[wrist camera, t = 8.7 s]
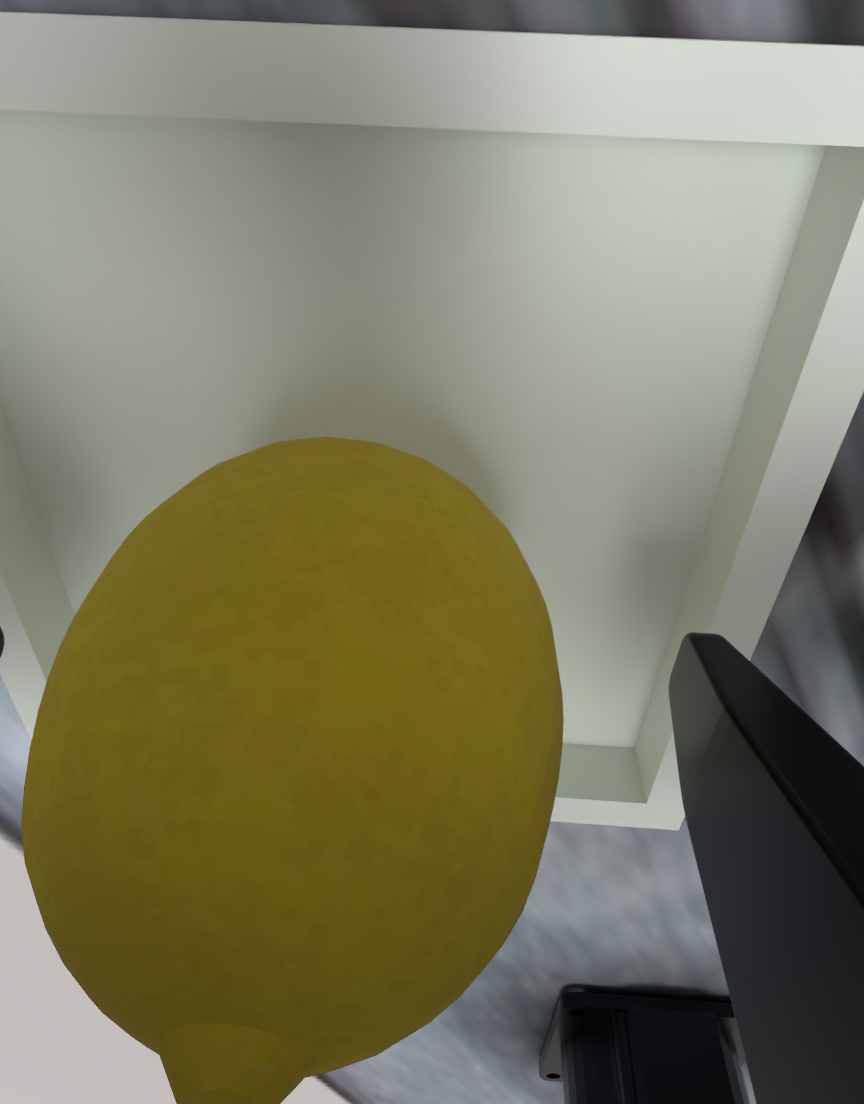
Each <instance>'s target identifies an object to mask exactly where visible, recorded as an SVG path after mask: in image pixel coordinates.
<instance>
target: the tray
mask: <svg viewBox="0 0 864 1104" xmlns="http://www.w3.org/2000/svg"><path fill="white" fill-rule="evenodd" d="M863 392H864V45H839V44H814V43H789V42H763V41H738V40H712V39H687V38H662V37H636V36H611V35H586V34H560V33H535V32H510V31H484V30H459V29H434V28H408V27H383V26H358V25H332V24H307V23H282V22H256V21H231V20H206V19H180V18H155V17H130V16H104V15H79V14H54V13H28V12H3V11H0V626H1V629H2V631H3V634H4V649H3V652H2V655H1V657H0V675H1V678H2V680H3V682H4V684H5V686H6V688H7V690H8V692H9V694H10V696H11V699H12V701H13V703H14V705H15V707H16V709H17V711H18V713H19V715H20V717H21V720H22V722H23V724H24V726H25V728H26V730H27V732H28V734H29V736H30V739H31V741H32V737H33V732H34V727H35V723H36V718H37V713H38V709H39V706H40V703H41V699H42V696H43V693H44V689H45V686H46V682H47V679H48V676H49V674H50V671H51V668H52V666H53V663H54V660H55V658H56V655H57V652H58V650H59V647H60V645H61V643H62V641H63V639H64V636H65V634H66V632H67V630H68V628H69V626H70V624H71V622H72V620H73V618H74V616H75V615H76V613H77V611H78V609H79V608H80V606H81V604H82V603H83V601H84V599H85V598H86V596H87V594H88V593H89V591H90V590H91V588H92V587H93V585H94V584H95V582H96V581H97V579H98V578H99V576H100V575H101V573H102V571H103V570H104V568H105V567H106V565H107V564H108V562H109V561H110V559H111V558H112V556H113V555H114V553H115V552H116V551H117V549H118V548H119V547H120V545H121V544H122V543H123V541H124V540H125V539H126V537H127V536H128V535H129V534H130V533H131V532H132V531H133V529H134V528H135V527H136V526H137V525H138V524H139V523H140V522H141V521H142V520H143V519H144V518H145V517H146V516H147V515H148V514H149V513H151V512H152V511H153V510H154V509H155V508H157V507H158V506H159V505H160V504H161V503H163V502H164V501H165V500H167V499H168V498H169V497H171V496H172V495H173V494H175V493H176V492H177V491H179V490H180V489H181V488H183V487H184V486H185V485H187V484H188V483H189V482H191V481H192V480H193V479H195V478H196V477H197V476H199V475H200V474H201V473H203V472H205V471H206V470H208V469H210V468H211V467H213V466H215V465H216V464H218V463H221V462H224V461H226V460H229V459H232V458H234V457H237V456H240V455H242V454H245V453H248V452H250V451H253V450H256V449H258V448H261V447H263V446H266V445H269V444H272V443H275V442H281V441H290V440H299V439H309V438H318V437H335V438H343V439H351V440H360V441H368V442H376V443H380V444H383V445H386V446H389V447H392V448H394V449H397V450H400V451H403V452H406V453H409V454H411V455H414V456H417V457H420V458H423V459H425V460H427V461H429V462H430V463H432V464H433V465H435V466H437V467H438V468H440V469H441V470H443V471H444V472H446V473H448V474H449V475H451V476H452V477H454V478H455V479H457V480H459V481H460V482H462V483H463V484H465V485H467V486H468V487H469V488H470V489H471V490H472V491H473V492H474V493H475V494H476V496H477V497H478V498H479V499H480V500H481V501H482V502H483V503H484V504H485V505H486V506H487V507H488V508H489V509H490V510H491V512H492V513H493V514H494V515H495V516H496V517H497V518H498V519H499V520H500V521H501V522H502V523H503V524H504V526H505V527H506V528H507V529H508V530H509V531H510V533H511V535H512V537H513V538H514V540H515V542H516V543H517V545H518V547H519V549H520V551H521V553H522V555H523V557H524V559H525V561H526V563H527V564H528V566H529V568H530V570H531V572H532V574H533V576H534V578H535V580H536V582H537V584H538V586H539V588H540V591H541V593H542V596H543V598H544V601H545V603H546V606H547V610H548V613H549V617H550V621H551V625H552V630H553V636H554V643H555V649H556V656H557V662H558V669H559V675H560V682H561V688H562V698H563V718H564V722H563V747H562V756H561V764H560V773H559V780H558V785H557V790H556V796H555V801H554V806H553V811H552V815H551V819H550V821H554V822H568V823H582V824H596V825H610V826H624V827H638V828H652V829H666V830H679V828H680V826H681V824H682V821H683V819H684V816H685V812H684V807H683V802H682V795H681V788H680V781H679V773H678V765H677V757H676V749H675V741H674V733H673V725H672V717H671V709H670V702H669V680H670V675H671V672H672V669H673V666H674V663H675V660H676V657H677V654H678V651H679V648H680V645H681V642H682V640H683V638H684V637H685V635H686V634H688V633H690V632H697V633H713V634H719V635H721V636H723V637H724V638H725V639H726V640H727V641H729V642H730V643H731V644H732V645H733V646H734V647H735V648H736V649H737V650H738V651H739V652H740V653H741V654H743V655H744V656H745V657H746V658H747V659H748V660H749V661H750V660H751V657H752V655H753V653H754V650H755V648H756V646H757V643H758V641H759V638H760V636H761V634H762V631H763V629H764V627H765V624H766V622H767V619H768V617H769V615H770V612H771V610H772V608H773V605H774V603H775V600H776V598H777V596H778V593H779V591H780V589H781V586H782V584H783V581H784V579H785V577H786V574H787V572H788V570H789V567H790V565H791V562H792V560H793V558H794V555H795V553H796V551H797V548H798V546H799V543H800V541H801V539H802V536H803V534H804V532H805V529H806V527H807V524H808V522H809V520H810V517H811V515H812V513H813V510H814V508H815V505H816V503H817V501H818V498H819V496H820V494H821V491H822V489H823V486H824V484H825V482H826V479H827V477H828V475H829V472H830V470H831V467H832V465H833V463H834V460H835V458H836V456H837V453H838V451H839V448H840V446H841V444H842V441H843V439H844V437H845V434H846V432H847V429H848V427H849V425H850V422H851V420H852V418H853V415H854V413H855V411H856V408H857V406H858V403H859V401H860V399H861V396H862V394H863Z"/></svg>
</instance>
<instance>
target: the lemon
mask: <svg viewBox="0 0 864 1104" xmlns="http://www.w3.org/2000/svg"><path fill="white" fill-rule="evenodd" d="M563 722H564V718H563V698H562V688H561V682H560V675H559V669H558V662H557V656H556V649H555V643H554V636H553V630H552V625H551V621H550V617H549V613H548V610H547V606H546V603H545V601H544V598H543V596H542V593H541V591H540V588H539V586H538V584H537V582H536V580H535V578H534V576H533V574H532V572H531V570H530V568H529V566H528V564H527V563H526V561H525V559H524V557H523V555H522V553H521V551H520V549H519V547H518V545H517V543H516V542H515V540H514V538H513V537H512V535H511V533H510V531H509V530H508V529H507V528H506V527H505V526H504V524H503V523H502V522H501V521H500V520H499V519H498V518H497V517H496V516H495V515H494V514H493V513H492V512H491V510H490V509H489V508H488V507H487V506H486V505H485V504H484V503H483V502H482V501H481V500H480V499H479V498H478V497H477V496H476V494H475V493H474V492H473V491H472V490H471V489H470V488H469V487H468V486H467V485H465V484H463V483H462V482H460V481H459V480H457V479H455V478H454V477H452V476H451V475H449V474H448V473H446V472H444V471H443V470H441V469H440V468H438V467H437V466H435V465H433V464H432V463H430V462H429V461H427V460H425V459H423V458H420V457H417V456H414V455H411V454H409V453H406V452H403V451H400V450H397V449H394V448H392V447H389V446H386V445H383V444H380V443H376V442H368V441H360V440H351V439H343V438H335V437H318V438H309V439H299V440H290V441H281V442H275V443H272V444H269V445H266V446H263V447H261V448H258V449H256V450H253V451H250V452H248V453H245V454H242V455H240V456H237V457H234V458H232V459H229V460H226V461H224V462H221V463H218V464H216V465H215V466H213V467H211V468H210V469H208V470H206V471H205V472H203V473H201V474H200V475H199V476H197V477H196V478H195V479H193V480H192V481H191V482H189V483H188V484H187V485H185V486H184V487H183V488H181V489H180V490H179V491H177V492H176V493H175V494H173V495H172V496H171V497H169V498H168V499H167V500H165V501H164V502H163V503H161V504H160V505H159V506H158V507H157V508H155V509H154V510H153V511H152V512H151V513H149V514H148V515H147V516H146V517H145V518H144V519H143V520H142V521H141V522H140V523H139V524H138V525H137V526H136V527H135V528H134V529H133V531H132V532H131V533H130V534H129V535H128V536H127V537H126V539H125V540H124V541H123V543H122V544H121V545H120V547H119V548H118V549H117V551H116V552H115V553H114V555H113V556H112V558H111V559H110V561H109V562H108V564H107V565H106V567H105V568H104V570H103V571H102V573H101V575H100V576H99V578H98V579H97V581H96V582H95V584H94V585H93V587H92V588H91V590H90V591H89V593H88V594H87V596H86V598H85V599H84V601H83V603H82V604H81V606H80V608H79V609H78V611H77V613H76V615H75V616H74V618H73V620H72V622H71V624H70V626H69V628H68V630H67V632H66V634H65V636H64V639H63V641H62V643H61V645H60V647H59V650H58V652H57V655H56V658H55V660H54V663H53V666H52V668H51V671H50V674H49V676H48V679H47V682H46V686H45V689H44V693H43V696H42V699H41V703H40V706H39V709H38V713H37V718H36V723H35V727H34V732H33V737H32V741H31V746H30V752H29V759H28V765H27V772H26V779H25V786H24V798H23V809H22V821H21V827H22V837H23V848H24V858H25V865H26V868H27V872H28V875H29V878H30V881H31V884H32V888H33V891H34V894H35V898H36V901H37V904H38V907H39V910H40V913H41V916H42V919H43V922H44V925H45V928H46V930H47V932H48V934H49V936H50V938H51V940H52V942H53V944H54V946H55V948H56V950H57V952H58V954H59V956H60V958H61V960H62V962H63V963H64V965H65V966H66V968H67V969H68V970H69V971H70V973H71V974H72V976H73V977H74V978H75V979H76V981H77V982H78V983H79V985H80V986H81V987H82V989H83V990H84V991H85V993H86V994H87V995H88V997H89V998H90V999H91V1000H92V1001H93V1002H94V1004H95V1005H96V1006H97V1007H98V1008H99V1009H100V1010H101V1012H102V1013H103V1014H105V1015H106V1016H107V1017H108V1018H109V1019H111V1020H112V1021H113V1022H114V1023H116V1024H117V1025H118V1026H119V1027H121V1028H122V1029H123V1030H124V1031H125V1032H127V1033H128V1034H129V1035H130V1036H132V1037H133V1038H135V1039H136V1040H137V1041H139V1042H140V1043H142V1044H143V1045H145V1046H146V1047H148V1048H149V1049H151V1050H153V1051H154V1052H156V1053H157V1054H159V1055H160V1058H161V1060H162V1063H163V1066H164V1069H165V1072H166V1075H167V1078H168V1080H169V1083H170V1086H171V1089H172V1092H173V1095H174V1097H175V1100H176V1103H177V1104H280V1103H281V1102H282V1101H283V1100H284V1099H285V1098H286V1097H287V1096H288V1095H289V1094H290V1093H291V1092H292V1091H293V1089H295V1088H296V1086H297V1085H298V1084H299V1083H300V1082H301V1081H302V1080H303V1079H304V1078H305V1077H310V1076H314V1075H319V1074H323V1073H326V1072H330V1071H333V1070H336V1069H339V1068H342V1067H345V1066H348V1065H351V1064H353V1063H356V1062H359V1061H362V1060H364V1059H367V1058H370V1057H373V1056H376V1055H378V1054H379V1053H381V1052H383V1051H384V1050H386V1049H387V1048H389V1047H391V1046H392V1045H394V1044H396V1043H397V1042H399V1041H400V1040H402V1039H404V1038H405V1037H407V1036H408V1035H410V1034H412V1033H413V1032H415V1031H417V1030H418V1029H420V1028H421V1027H423V1026H425V1025H426V1024H428V1023H429V1022H431V1021H432V1020H433V1019H434V1018H435V1017H437V1016H438V1015H439V1014H440V1013H441V1012H442V1011H444V1010H445V1009H446V1008H447V1007H448V1006H449V1005H451V1004H452V1003H453V1002H454V1001H455V1000H457V999H458V998H459V997H460V996H461V995H462V993H463V992H464V991H465V990H466V989H467V988H468V986H469V985H470V984H471V983H472V982H473V981H474V980H475V978H476V977H477V976H478V975H479V974H480V973H481V971H482V970H483V969H484V968H485V967H486V965H487V964H488V963H489V962H490V960H491V959H492V958H493V957H494V955H495V954H496V953H497V952H498V950H499V949H500V948H501V947H502V945H503V944H504V942H505V940H506V939H507V937H508V935H509V933H510V932H511V930H512V928H513V927H514V925H515V923H516V922H517V920H518V918H519V917H520V915H521V913H522V911H523V908H524V906H525V903H526V901H527V898H528V896H529V893H530V891H531V888H532V885H533V883H534V880H535V877H536V873H537V870H538V866H539V862H540V858H541V854H542V851H543V847H544V843H545V839H546V835H547V831H548V827H549V823H550V819H551V815H552V811H553V806H554V801H555V796H556V790H557V785H558V780H559V773H560V764H561V756H562V747H563Z"/></svg>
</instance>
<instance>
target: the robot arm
mask: <svg viewBox="0 0 864 1104" xmlns="http://www.w3.org/2000/svg"><path fill="white" fill-rule="evenodd" d="M3 649H4V634H3V631H2V629H1V626H0V657H1V655H2V652H3ZM669 702H670V709H671V717H672V725H673V733H674V741H675V749H676V757H677V765H678V773H679V781H680V788H681V795H682V802H683V807H684V812H685V817H686V821H687V826H688V830H689V834H690V838H691V842H692V846H693V850H694V854H695V858H696V862H697V866H698V870H699V874H700V878H701V882H702V886H703V890H704V894H705V898H706V902H707V906H708V910H709V914H710V918H711V922H712V926H713V930H714V934H715V938H716V942H717V946H718V950H719V954H720V958H721V962H722V966H723V970H724V974H725V978H726V982H727V986H728V990H729V994H730V998H731V1002H732V1004H730V1003H718V1002H705V1001H692V1000H679V999H666V998H653V997H640V996H628V995H615V994H602V993H589V992H568V993H565V994H562V995H561V996H560V998H559V1001H558V1004H557V1008H556V1011H555V1014H554V1017H553V1020H552V1023H551V1026H550V1029H549V1032H548V1035H547V1038H546V1041H545V1044H544V1047H543V1051H542V1054H541V1057H540V1060H539V1075H540V1077H541V1078H542V1079H544V1080H548V1081H557V1082H563V1090H564V1103H565V1104H750V1102H749V1098H748V1093H747V1089H746V1085H745V1081H744V1077H743V1073H742V1069H741V1066H742V1065H743V1063H744V1062H745V1061H746V1063H747V1067H748V1071H749V1075H750V1079H751V1083H752V1087H753V1091H754V1095H755V1099H756V1103H757V1104H864V766H863V765H862V764H861V763H859V762H858V761H857V760H856V759H855V758H854V757H853V756H852V755H851V754H850V753H849V752H848V751H846V750H845V749H844V748H843V747H842V746H841V745H840V744H839V743H838V742H837V741H836V740H835V739H833V738H832V737H831V736H830V735H829V734H828V733H827V732H826V731H825V730H824V729H823V728H822V727H821V726H819V725H818V724H817V723H816V722H815V721H814V720H813V719H812V718H811V717H810V716H809V715H808V714H806V713H805V712H804V711H803V710H802V709H801V708H800V707H799V706H798V705H797V704H796V703H795V702H793V701H792V700H791V699H790V698H789V697H788V696H787V695H786V694H785V693H784V692H783V691H782V690H780V689H779V688H778V687H777V686H776V685H775V684H774V683H773V682H772V681H771V680H770V679H769V678H767V677H766V676H765V675H764V674H763V673H762V672H761V671H760V670H759V669H758V668H757V667H756V666H754V665H753V664H752V663H751V662H750V661H749V660H748V659H747V658H746V657H745V656H744V655H743V654H741V653H740V652H739V651H738V650H737V649H736V648H735V647H734V646H733V645H732V644H731V643H730V642H729V641H727V640H726V639H725V638H724V637H723V636H721V635H719V634H713V633H697V632H690V633H688V634H686V635H685V637H684V638H683V640H682V642H681V645H680V648H679V651H678V654H677V657H676V660H675V663H674V666H673V669H672V672H671V675H670V680H669Z"/></svg>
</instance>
